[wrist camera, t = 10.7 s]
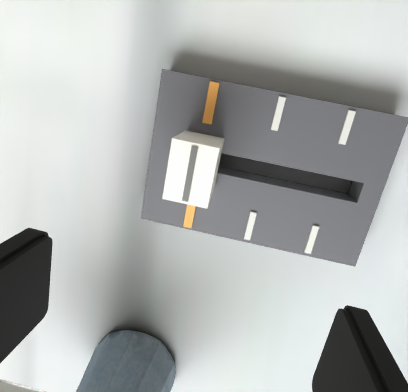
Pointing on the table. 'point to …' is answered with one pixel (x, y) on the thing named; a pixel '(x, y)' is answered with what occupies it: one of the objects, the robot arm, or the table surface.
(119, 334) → the moka pot
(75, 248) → the table surface
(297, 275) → the table surface
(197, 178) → the fader knob
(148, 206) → the fader console
